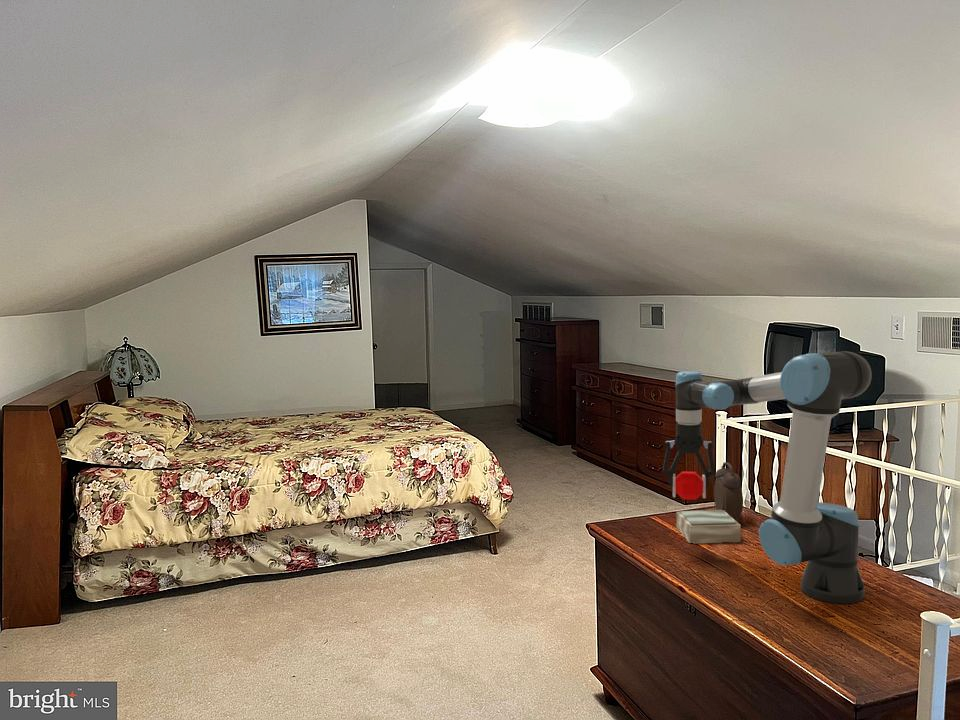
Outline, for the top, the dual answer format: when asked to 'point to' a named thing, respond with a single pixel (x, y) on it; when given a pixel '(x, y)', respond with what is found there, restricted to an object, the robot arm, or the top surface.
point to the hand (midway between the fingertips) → (688, 496)
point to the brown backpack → (728, 491)
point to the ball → (689, 485)
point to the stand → (708, 526)
